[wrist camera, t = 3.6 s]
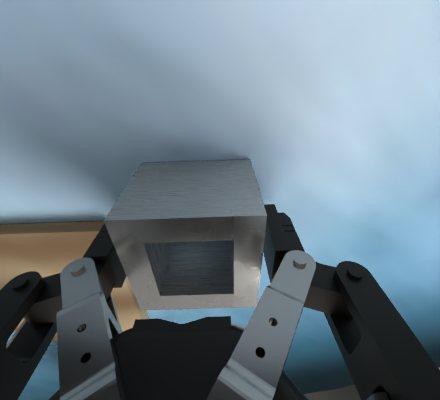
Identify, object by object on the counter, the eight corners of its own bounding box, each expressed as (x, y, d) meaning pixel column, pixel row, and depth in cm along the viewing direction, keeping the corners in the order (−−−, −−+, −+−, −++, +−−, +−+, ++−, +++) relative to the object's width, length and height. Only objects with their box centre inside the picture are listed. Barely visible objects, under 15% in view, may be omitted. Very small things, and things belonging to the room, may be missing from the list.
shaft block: (-71, 226, 15) (-337, 390, 8) (109, 220, 15) (10, 380, 8) (34, 331, 23) (-48, 459, 15) (153, 328, 22) (123, 455, 15)
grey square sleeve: (141, 162, 12) (103, 220, 8) (250, 159, 12) (267, 215, 8) (161, 241, 16) (141, 310, 12) (246, 238, 16) (256, 307, 11)
